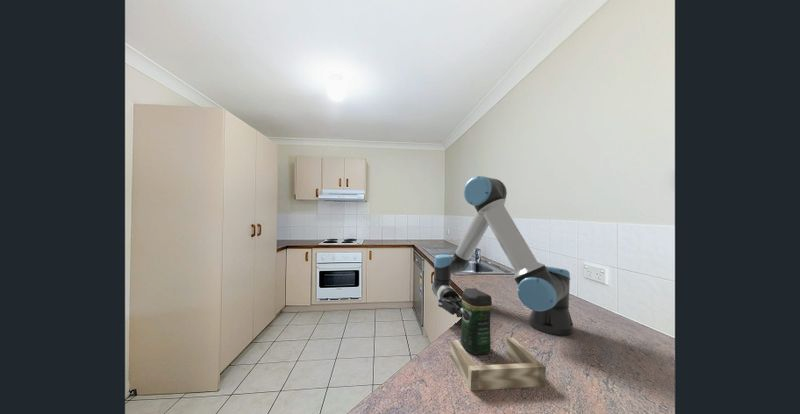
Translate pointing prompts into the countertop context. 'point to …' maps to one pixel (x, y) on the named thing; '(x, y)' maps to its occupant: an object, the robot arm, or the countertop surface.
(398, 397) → the countertop surface
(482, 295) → the coffee jar
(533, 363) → the u-shaped wooden molding
